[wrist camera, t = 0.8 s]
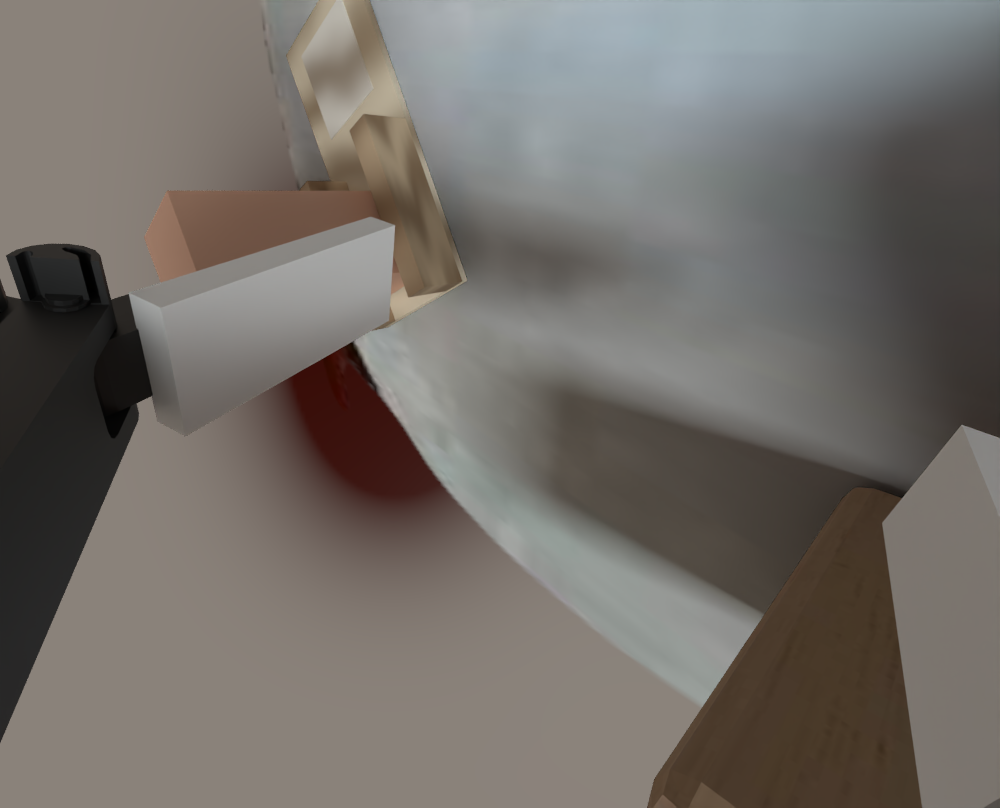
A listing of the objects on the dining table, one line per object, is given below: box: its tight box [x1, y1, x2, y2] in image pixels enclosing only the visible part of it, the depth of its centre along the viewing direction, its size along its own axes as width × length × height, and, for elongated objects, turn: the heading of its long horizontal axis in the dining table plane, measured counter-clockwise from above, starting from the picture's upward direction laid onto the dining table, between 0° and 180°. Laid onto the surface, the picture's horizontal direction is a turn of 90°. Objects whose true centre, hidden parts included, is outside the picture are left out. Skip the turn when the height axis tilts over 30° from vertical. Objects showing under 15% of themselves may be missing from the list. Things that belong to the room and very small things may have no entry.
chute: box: [286, 0, 467, 330], centre depth 42 cm, size 24×11×4 cm, turn 27°
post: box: [144, 191, 404, 295], centre depth 38 cm, size 6×6×16 cm
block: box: [647, 487, 922, 808], centre depth 18 cm, size 10×10×20 cm
